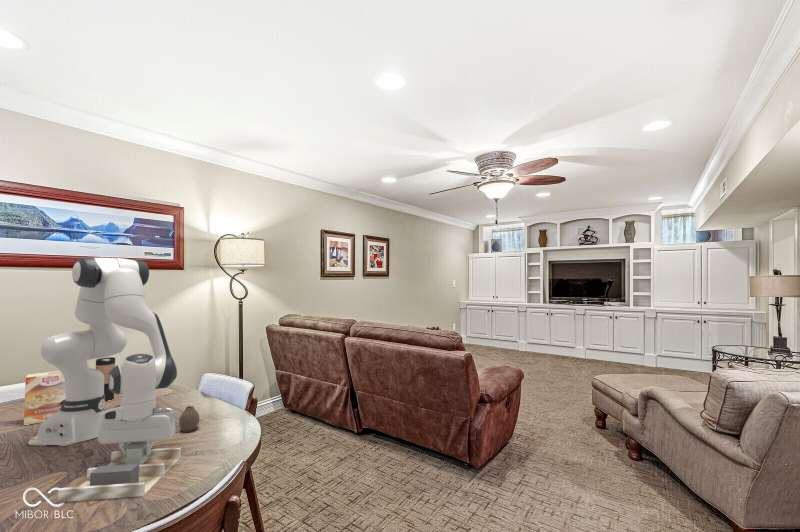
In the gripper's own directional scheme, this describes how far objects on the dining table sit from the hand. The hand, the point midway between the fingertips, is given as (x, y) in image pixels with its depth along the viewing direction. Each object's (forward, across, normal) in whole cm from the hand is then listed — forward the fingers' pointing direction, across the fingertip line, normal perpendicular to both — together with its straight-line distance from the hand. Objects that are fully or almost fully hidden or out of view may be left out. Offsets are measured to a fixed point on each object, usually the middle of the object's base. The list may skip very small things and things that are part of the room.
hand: (137, 455), depth 112 cm
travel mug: (+5, +55, -77) cm, 95 cm away
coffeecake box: (+5, +61, -52) cm, 80 cm away
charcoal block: (+4, 0, +10) cm, 11 cm away
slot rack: (+5, 0, +5) cm, 7 cm away
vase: (+5, -2, -32) cm, 32 cm away
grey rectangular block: (+2, 0, 0) cm, 2 cm away
